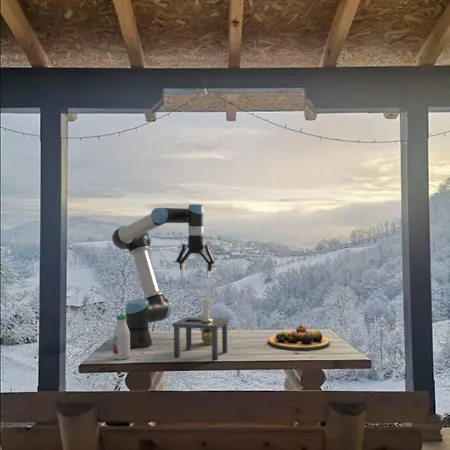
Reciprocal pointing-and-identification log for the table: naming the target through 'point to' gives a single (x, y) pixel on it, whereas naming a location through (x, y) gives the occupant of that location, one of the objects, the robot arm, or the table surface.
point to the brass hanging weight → (206, 320)
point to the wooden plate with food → (299, 340)
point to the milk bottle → (121, 339)
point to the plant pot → (207, 341)
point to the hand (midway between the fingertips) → (195, 277)
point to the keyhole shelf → (196, 323)
